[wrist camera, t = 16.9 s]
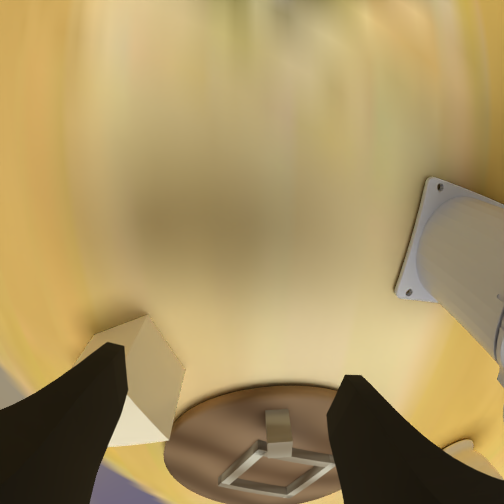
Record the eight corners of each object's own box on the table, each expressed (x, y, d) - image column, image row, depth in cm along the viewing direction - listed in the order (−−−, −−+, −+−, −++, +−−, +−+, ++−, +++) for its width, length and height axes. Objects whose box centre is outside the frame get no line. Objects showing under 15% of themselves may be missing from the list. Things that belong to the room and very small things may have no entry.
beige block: (148, 313, 19) (114, 380, 13) (185, 369, 21) (169, 440, 14) (70, 343, 20) (31, 398, 14) (106, 389, 22) (79, 448, 15)
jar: (482, 442, 28) (521, 513, 14) (425, 483, 30) (453, 556, 16) (469, 423, 25) (519, 511, 11) (400, 471, 28) (433, 563, 14)
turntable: (218, 348, 20) (213, 397, 15) (419, 411, 23) (437, 445, 19) (144, 469, 25) (136, 502, 21) (302, 504, 29) (306, 532, 24)
